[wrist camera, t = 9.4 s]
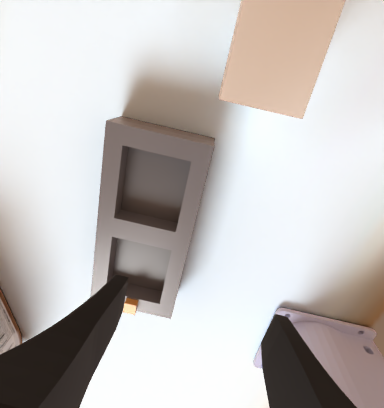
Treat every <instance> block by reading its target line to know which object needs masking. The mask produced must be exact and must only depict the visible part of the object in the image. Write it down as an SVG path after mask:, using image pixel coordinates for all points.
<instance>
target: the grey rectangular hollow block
mask: <svg viewBox="0 0 384 408" xmlns="http://www.w3.org/2000/svg"><path fill="white" fill-rule="evenodd" d="M214 141H215V138H210V137H206V136H202V135H198V134H194V133H189V132H185V131H181V130H177V129H173V128H168V127H164V126H160V125H156V124H151V123H147V122H143V121H139V120H135V119H130V118H126V117H122V116H121V117H117V118H114V119H110V120H106V127H105V139H104V150H103V162H102V173H101V185H100V196H99V208H98V219H97V231H96V242H95V254H94V265H93V277H92V288H91V297H92V296H93V295H94V294H95V293H96V292H97V291H99V290H100V289H101V288H102V287H103V286H104V285H105V284H106V283H107V282H108V281H109V280H110V279H111V278H112V277H113V276H114V275H116V274H117V275H121V276H125V277H129V280H128V285H127V291H126V296H125V302H124V309H123V312H125V313H129V314H133V315H135V313H136V311H140V312H144V313H149V314H153V315H157V316H162V317H166V318H170V319H171V316H172V312H173V308H174V304H175V300H176V296H177V292H178V289H179V285H180V281H181V277H182V273H183V269H184V265H185V261H186V257H187V253H188V249H189V245H190V241H191V237H192V233H193V229H194V225H195V221H196V217H197V213H198V209H199V205H200V201H201V197H202V194H203V190H204V186H205V182H206V178H207V174H208V170H209V166H210V162H211V158H212V154H213V150H214Z"/></svg>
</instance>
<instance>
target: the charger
mask: <svg viewBox="0 0 384 408" xmlns="http://www.w3.org/2000/svg"><path fill="white" fill-rule="evenodd" d="M344 3H345V0H241V4H240V8H239V12H238V16H237V21H236V25H235V29H234V33H233V38H232V42H231V46H230V50H229V54H228V59H227V63H226V67H225V71H224V76H223V80H222V84H221V88H220V93H219V99H220V100H223V101H227V102H232V103H236V104H240V105H245V106H249V107H253V108H257V109H262V110H266V111H270V112H275V113H279V114H283V115H287V116H292V117H296V118H300V119H303V116H304V113H305V110H306V108H307V105H308V102H309V99H310V97H311V94H312V91H313V88H314V86H315V83H316V80H317V77H318V75H319V72H320V69H321V66H322V64H323V61H324V58H325V55H326V53H327V50H328V47H329V44H330V42H331V39H332V36H333V33H334V31H335V28H336V25H337V22H338V20H339V17H340V14H341V11H342V9H343V6H344Z"/></svg>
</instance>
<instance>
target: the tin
mask: <svg viewBox="0 0 384 408" xmlns="http://www.w3.org/2000/svg"><path fill="white" fill-rule="evenodd" d="M20 344H22V336H21V333H20V330H19V328H18V325H17V323H16V321H15V319H14V317H13V315H12V312H11V310H10V308H9V306H8V304H7V302H6V299H5V297H4V295H3V293H2V291H1V289H0V354H2V353H4V352H6V351H8V350H10V349H12V348H14V347H16V346H18V345H20Z"/></svg>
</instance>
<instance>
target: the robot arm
mask: <svg viewBox="0 0 384 408" xmlns="http://www.w3.org/2000/svg"><path fill="white" fill-rule="evenodd" d="M128 280H129V277H125V276H121V275H117V274H116V275H114V276H113V277H112V278H111V279H110V280H109V281H108V282H107V283H106V284H105V285H104V286H103V287H102V288H101V289H100V290H99V291H97V292H96V293H95V294H94V295H93V296H92V297H90V298H89V299H88V300H87V301H86V302H85V303H83V304H82V305H81V306H79V307H78V308H77V309H75V310H74V311H73V312H72V313H70V314H69V315H68V316H66V317H65V318H63V319H62V320H60V321H59V322H57V323H56V324H54V325H53V326H51V327H50V328H48V329H46V330H45V331H43V332H41V333H40V334H38V335H36V336H35V337H33V338H31V339H29V340H28V341H26V342H24V343H22V344H20V345H18V346H16V347H14V348H12V349H10V350H8V351H6V352H4V353H2V354H0V408H79V407H80V404H81V402H82V399H83V397H84V394H85V392H86V389H87V387H88V385H89V382H90V380H91V378H92V376H93V374H94V372H95V370H96V368H97V366H98V364H99V362H100V360H101V358H102V356H103V354H104V352H105V350H106V348H107V346H108V344H109V342H110V340H111V338H112V336H113V334H114V332H115V330H116V327H117V325H118V322H119V319H120V317H121V314H122V311H123V308H124V302H125V296H126V291H127V285H128ZM285 314H288V315H285ZM376 335H377V333H376V331H375V330H374V329H373V328H369V327H365V326H360V325H356V324H352V323H347V322H343V321H339V320H334V319H330V318H326V317H321V316H317V315H312V314H308V313H304V312H299V311H295V310H291V309H286V308H279V309H277V310H276V313H275V315H274V317H273V319H272V321H271V323H270V326H269V328H268V330H267V332H266V334H265V336H264V338H263V340H262V342H261V345H260V347H259V350H258V352H257V354H256V356H255V358H254V361H253V363H254V366H255V367H258V368H262V369H263V373H264V379H265V385H266V390H267V396H268V401H269V406H270V408H384V357H383V356H382V354H381V352H380V351H379V349H378V348H377V346H376V344H375V343H374V341H373V340H374V338H375V337H376Z"/></svg>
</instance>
